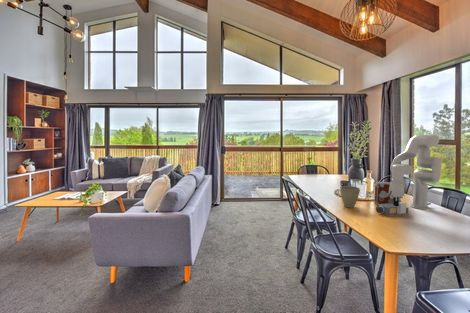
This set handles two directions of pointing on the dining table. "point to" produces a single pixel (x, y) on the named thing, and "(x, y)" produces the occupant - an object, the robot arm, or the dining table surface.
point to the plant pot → (349, 195)
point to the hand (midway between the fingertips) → (395, 205)
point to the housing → (389, 209)
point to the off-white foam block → (401, 208)
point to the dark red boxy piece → (382, 193)
